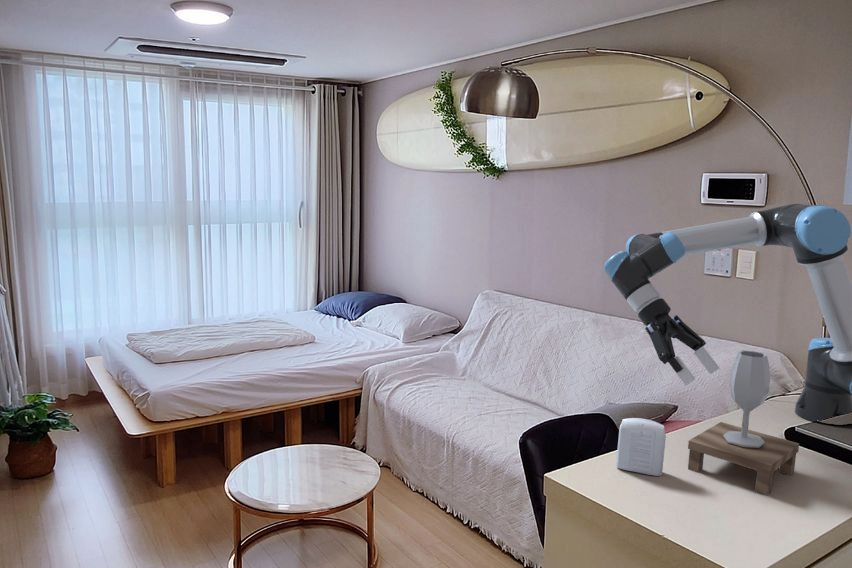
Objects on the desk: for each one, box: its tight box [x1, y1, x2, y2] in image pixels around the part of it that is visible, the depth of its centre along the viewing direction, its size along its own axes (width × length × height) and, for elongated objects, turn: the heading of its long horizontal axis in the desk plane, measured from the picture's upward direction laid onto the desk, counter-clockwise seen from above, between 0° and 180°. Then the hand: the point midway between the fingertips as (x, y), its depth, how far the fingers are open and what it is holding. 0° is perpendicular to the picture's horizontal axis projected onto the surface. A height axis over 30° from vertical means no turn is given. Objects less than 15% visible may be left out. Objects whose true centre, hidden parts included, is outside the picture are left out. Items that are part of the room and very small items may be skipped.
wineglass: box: [723, 349, 771, 448], centre depth 153 cm, size 9×9×21 cm
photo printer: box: [615, 417, 667, 477], centre depth 154 cm, size 10×4×12 cm, turn 67°
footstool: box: [687, 421, 800, 496], centre depth 155 cm, size 18×18×7 cm
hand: (703, 376), depth 160 cm, fingers open, 13 cm apart
